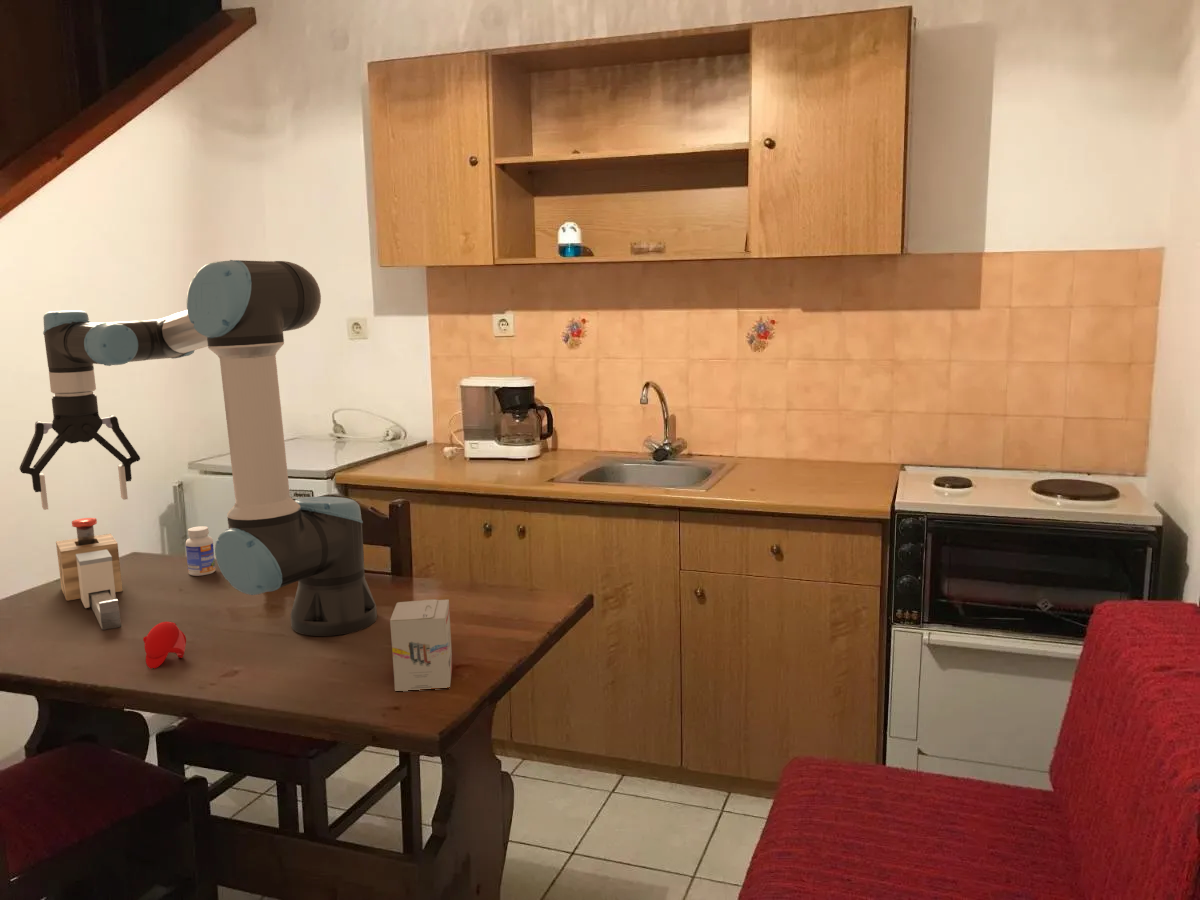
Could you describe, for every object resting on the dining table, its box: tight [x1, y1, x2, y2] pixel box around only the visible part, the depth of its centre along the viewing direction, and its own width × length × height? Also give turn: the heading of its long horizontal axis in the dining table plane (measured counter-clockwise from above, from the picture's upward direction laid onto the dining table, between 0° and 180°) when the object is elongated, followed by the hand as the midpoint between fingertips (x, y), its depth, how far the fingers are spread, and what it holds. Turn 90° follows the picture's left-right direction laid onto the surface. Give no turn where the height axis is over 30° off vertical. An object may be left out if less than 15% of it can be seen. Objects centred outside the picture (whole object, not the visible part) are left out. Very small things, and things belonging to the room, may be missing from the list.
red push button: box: [71, 517, 98, 546], centre depth 193 cm, size 4×4×5 cm
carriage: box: [76, 549, 117, 609], centre depth 187 cm, size 6×6×9 cm
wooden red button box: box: [55, 533, 123, 601], centre depth 195 cm, size 9×10×10 cm
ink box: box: [389, 598, 453, 692], centre depth 150 cm, size 9×9×12 cm
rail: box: [88, 590, 122, 631], centre depth 183 cm, size 22×3×5 cm, turn 34°
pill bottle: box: [185, 525, 216, 577], centre depth 206 cm, size 5×5×10 cm
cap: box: [142, 621, 187, 669], centre depth 159 cm, size 8×6×6 cm
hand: (85, 503), depth 186 cm, fingers open, 13 cm apart
